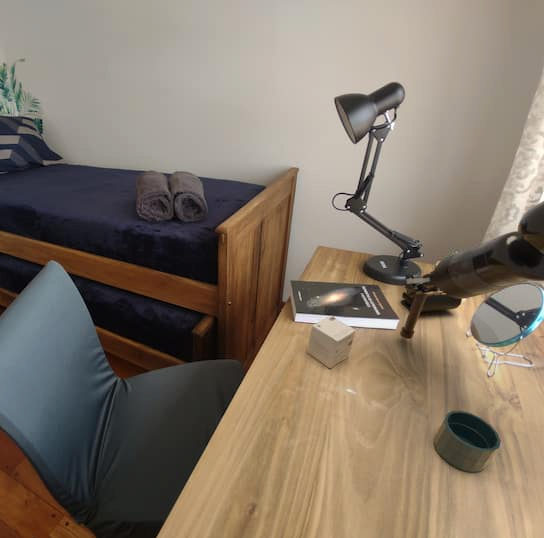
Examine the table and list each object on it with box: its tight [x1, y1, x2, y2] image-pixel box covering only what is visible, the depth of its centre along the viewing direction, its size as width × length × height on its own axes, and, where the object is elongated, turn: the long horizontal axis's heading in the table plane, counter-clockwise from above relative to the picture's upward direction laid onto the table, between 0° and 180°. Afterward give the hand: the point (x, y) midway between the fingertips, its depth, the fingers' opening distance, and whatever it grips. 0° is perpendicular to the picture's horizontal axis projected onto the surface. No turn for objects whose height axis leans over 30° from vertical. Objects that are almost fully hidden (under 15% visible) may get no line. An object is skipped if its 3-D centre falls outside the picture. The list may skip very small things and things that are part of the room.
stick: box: [399, 294, 427, 340], centre depth 74 cm, size 2×2×14 cm
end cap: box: [400, 284, 463, 313], centre depth 87 cm, size 10×7×7 cm
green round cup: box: [433, 410, 502, 473], centre depth 55 cm, size 7×7×6 cm
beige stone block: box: [306, 315, 356, 369], centre depth 73 cm, size 6×6×7 cm
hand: (415, 291), depth 74 cm, fingers closed on stick, 2 cm apart
